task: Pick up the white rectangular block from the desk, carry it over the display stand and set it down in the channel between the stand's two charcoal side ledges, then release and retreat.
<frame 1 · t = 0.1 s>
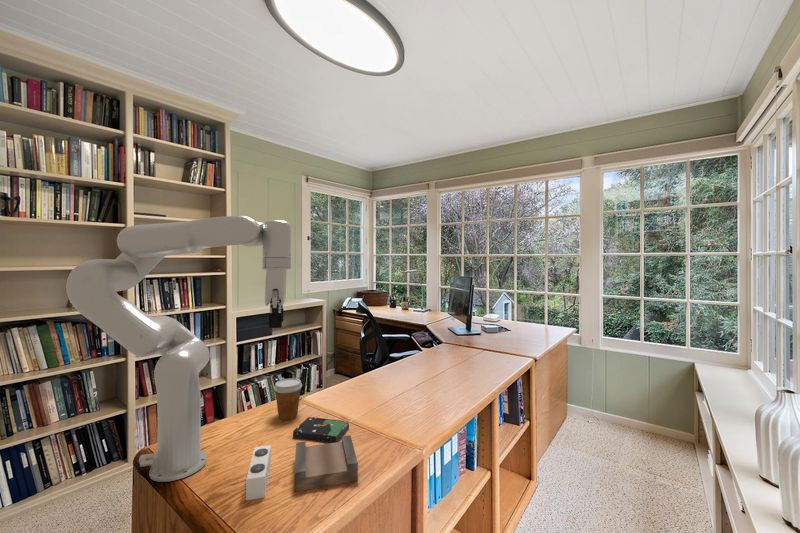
hand: (276, 324, 94), 37 cm above the table, tool pointing down, fingers open, 9 cm apart
display stand: (325, 469, 87), on the table
white rectangular block: (259, 480, 83), on the table
disk drive: (321, 434, 106), on the table
disposable coffee cup: (288, 416, 118), on the table
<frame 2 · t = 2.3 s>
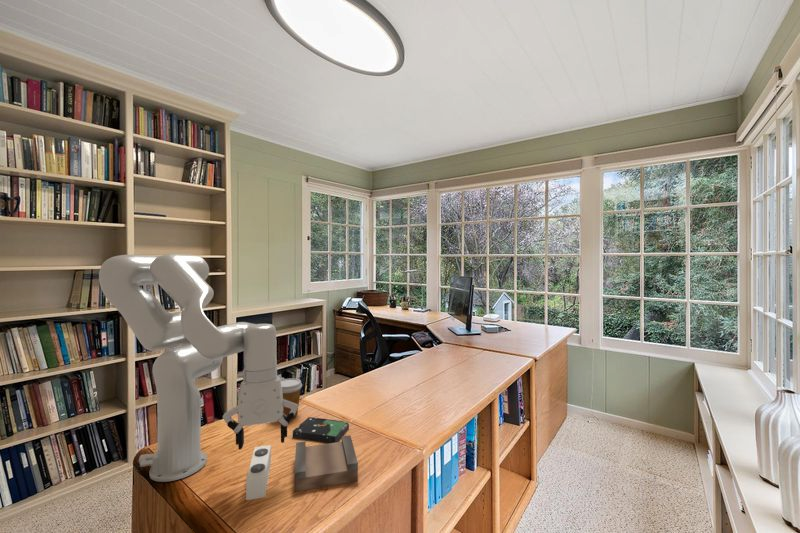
hand: (262, 443, 82), 9 cm above the table, tool pointing down, fingers open, 9 cm apart
nothing on the table moved.
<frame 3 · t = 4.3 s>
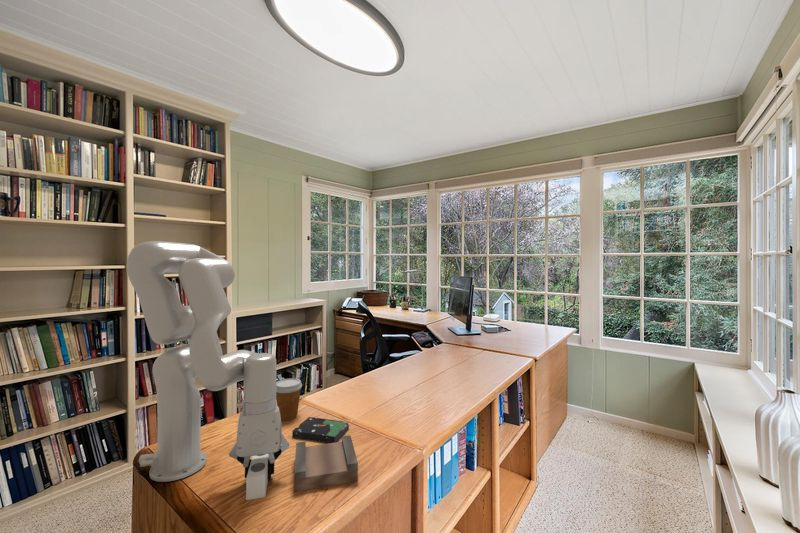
hand: (259, 477, 83), 1 cm above the table, tool pointing down, fingers closed on white rectangular block, 4 cm apart
white rectangular block: (259, 479, 83), on the table, touching gripper
everything else where it was.
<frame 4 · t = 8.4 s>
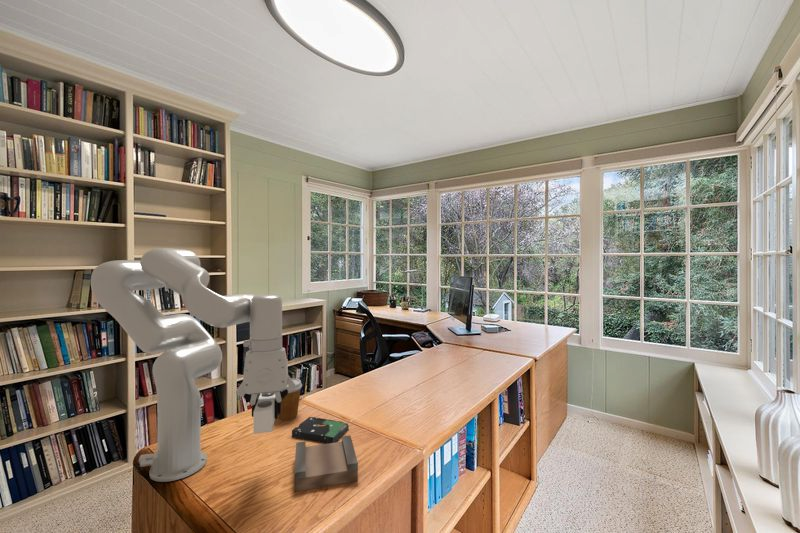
hand: (266, 417, 83), 15 cm above the table, tool pointing down, fingers closed on white rectangular block, 4 cm apart
white rectangular block: (266, 419, 83), point 15 cm above the table, touching gripper
everything else where it was.
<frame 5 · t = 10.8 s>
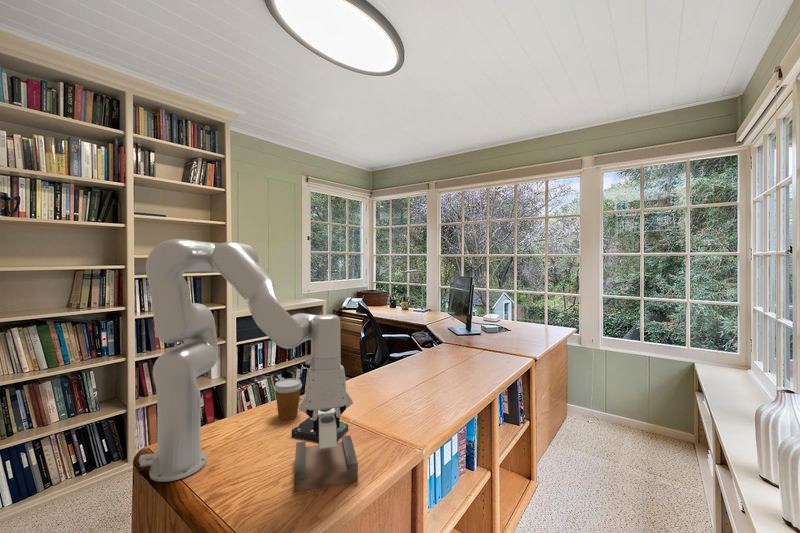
hand: (326, 431, 87), 10 cm above the table, tool pointing down, fingers closed on white rectangular block, 4 cm apart
white rectangular block: (326, 433, 87), point 9 cm above the table, touching gripper
everything else where it was.
when the fingers open (5 cm above the table, at t = 12.7 s): white rectangular block drops 2 cm, resting on display stand.
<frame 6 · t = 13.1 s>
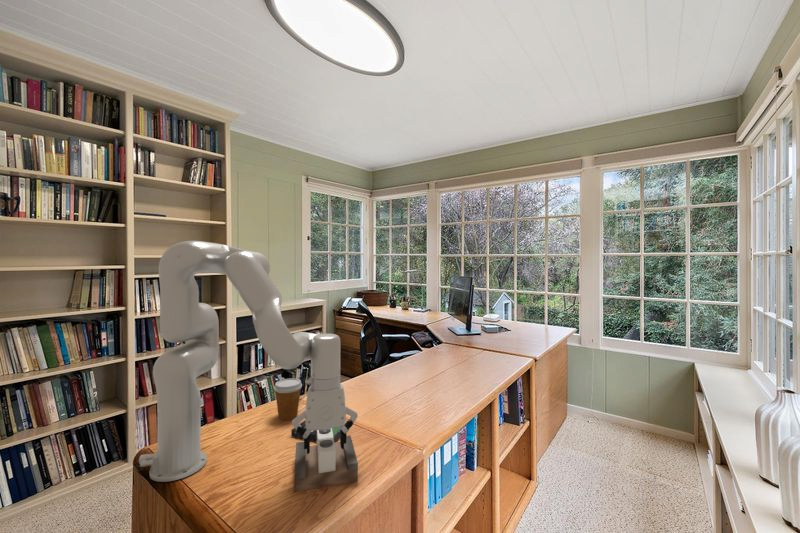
hand: (325, 448, 87), 6 cm above the table, tool pointing down, fingers open, 8 cm apart
white rectangular block: (325, 456, 88), point 3 cm above the table, touching display stand
everything else where it was.
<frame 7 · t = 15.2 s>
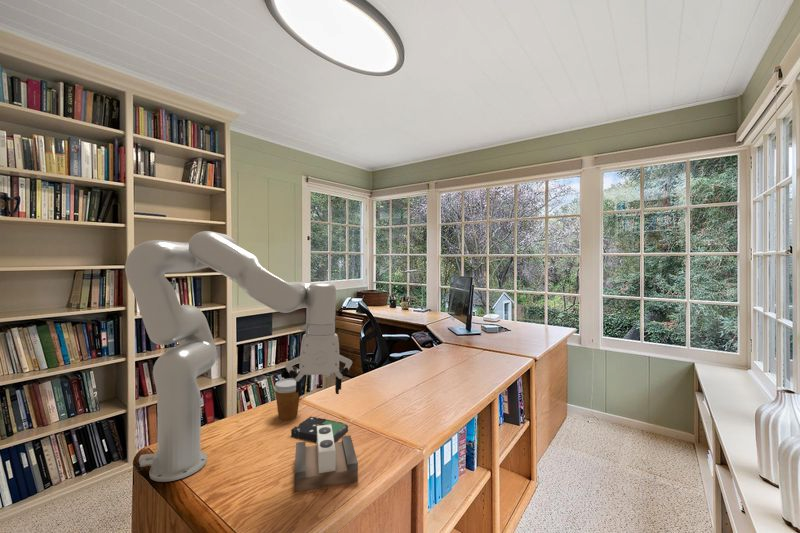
hand: (318, 393, 89), 19 cm above the table, tool pointing down, fingers open, 9 cm apart
nothing on the table moved.
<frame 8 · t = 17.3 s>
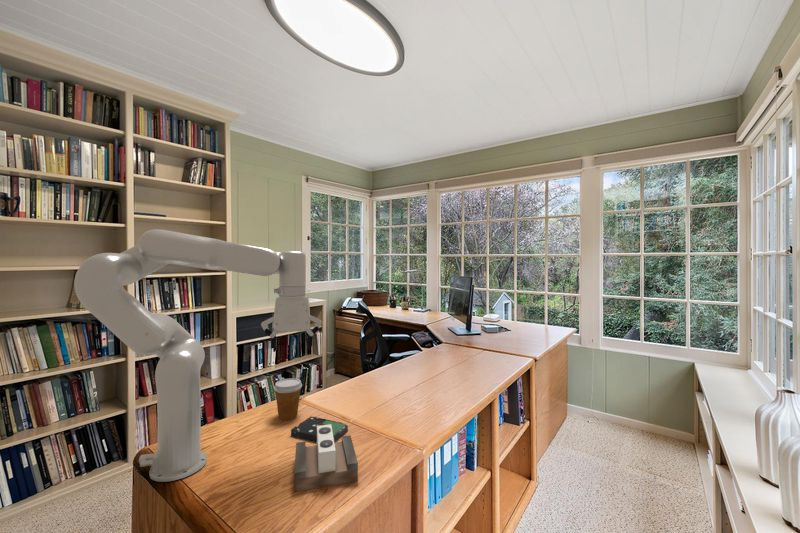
hand: (292, 349, 99), 28 cm above the table, tool pointing down, fingers open, 9 cm apart
nothing on the table moved.
at the end: white rectangular block inside the target area on the display stand (0.8 cm from its centre), point 3.0 cm above the display stand's base; white rectangular block tilted 0°; the gripper is holding nothing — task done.
